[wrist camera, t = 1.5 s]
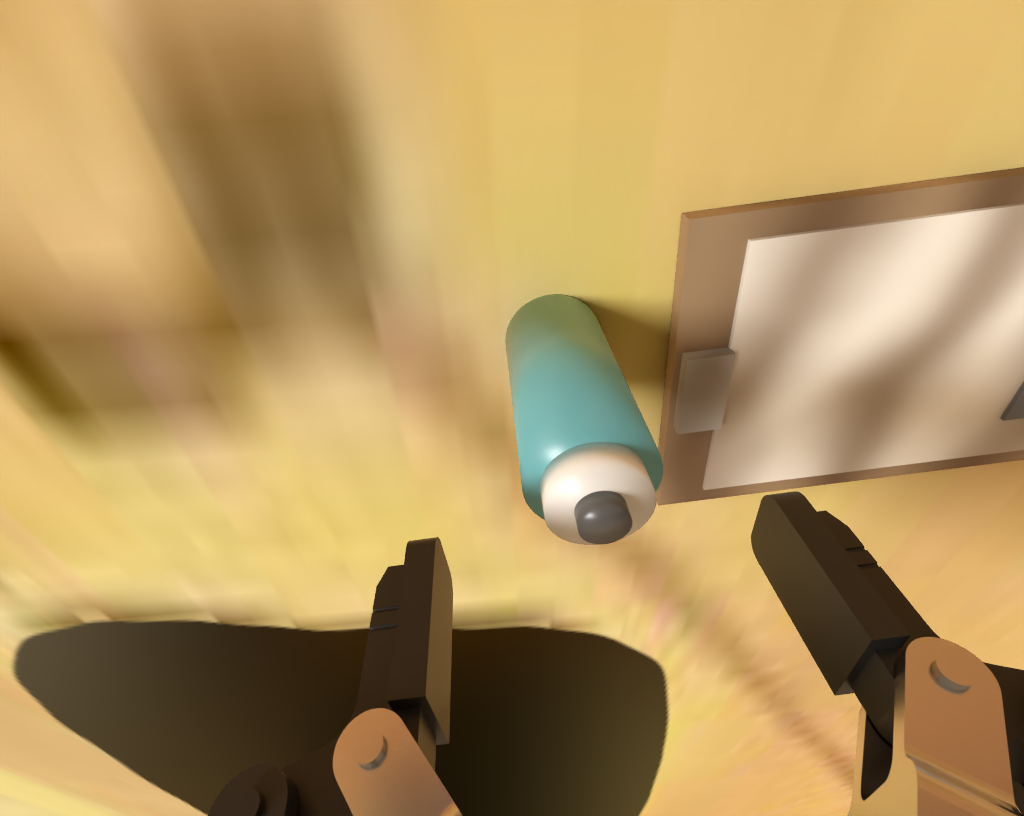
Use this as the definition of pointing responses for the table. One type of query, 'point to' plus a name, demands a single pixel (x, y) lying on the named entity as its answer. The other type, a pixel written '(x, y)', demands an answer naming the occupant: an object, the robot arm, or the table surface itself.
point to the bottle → (578, 425)
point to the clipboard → (846, 338)
